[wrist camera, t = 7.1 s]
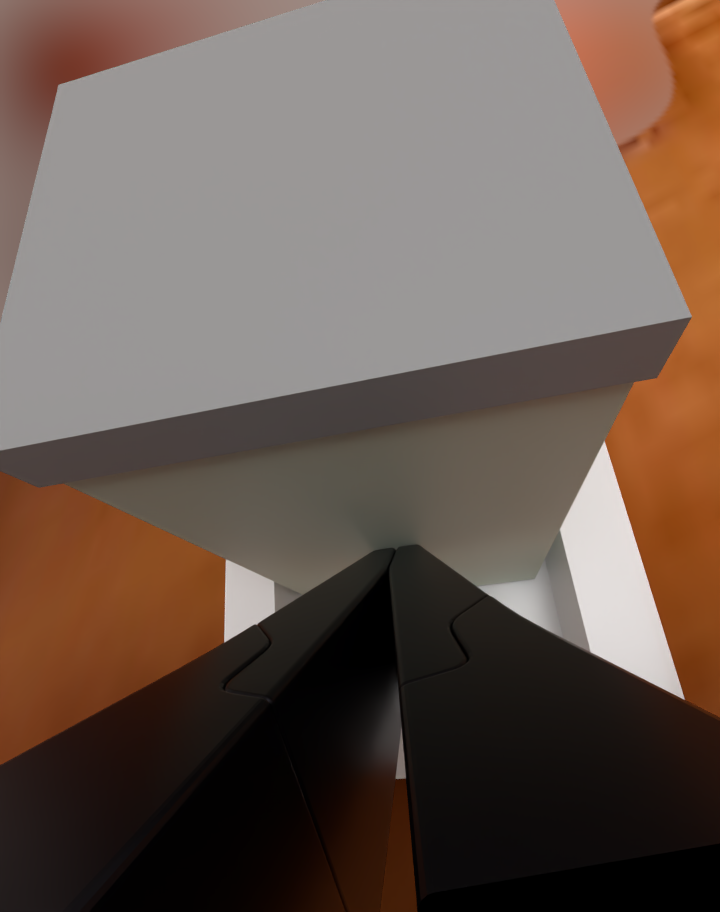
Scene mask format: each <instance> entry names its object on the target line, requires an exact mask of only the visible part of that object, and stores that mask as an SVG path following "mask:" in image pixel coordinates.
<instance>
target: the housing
mask: <svg viewBox="0 0 720 912" xmlns="http://www.w3.org/2000/svg"><path fill="white" fill-rule="evenodd" d="M477 587H478V588H480V589H481V590H483V591H484V592H485V593H487V594H488V595H489V596H492V597H494V598H495V599H496V600H498V601H499V602H501V603H502V604H504V605H505V606H507V607H508V608H510V609H511V610H513V611H514V612H516V613H517V614H519V615H521V616H522V617H524V618H526V619H528V620H530V621H531V622H533V623H535V624H537V625H539V626H541V627H542V628H544V629H546V630H548V631H550V632H552V633H554V634H556V635H558V636H560V637H562V638H564V639H566V640H568V641H570V642H572V643H574V644H576V645H578V646H580V647H582V648H584V649H585V650H587V651H589V652H591V653H593V654H595V655H597V656H599V657H601V658H603V659H605V660H607V661H609V662H611V663H613V664H615V665H617V666H619V667H621V668H623V669H625V670H627V671H629V672H631V673H633V674H635V675H637V676H639V677H641V678H643V679H645V680H647V681H649V682H651V683H652V684H654V685H656V686H658V687H660V688H662V689H664V690H666V691H668V692H670V693H672V694H674V695H676V696H678V697H680V698H682V699H684V695H683V692H682V689H681V686H680V682H679V679H678V676H677V673H676V670H675V666H674V663H673V660H672V657H671V653H670V650H669V647H668V644H667V641H666V637H665V634H664V631H663V628H662V625H661V621H660V618H659V615H658V612H657V608H656V605H655V602H654V599H653V596H652V592H651V589H650V586H649V583H648V579H647V576H646V573H645V570H644V567H643V563H642V560H641V557H640V554H639V551H638V547H637V544H636V541H635V538H634V534H633V531H632V528H631V525H630V522H629V518H628V515H627V512H626V509H625V505H624V502H623V499H622V496H621V493H620V489H619V486H618V483H617V480H616V477H615V473H614V470H613V467H612V464H611V460H610V457H609V454H608V451H607V448H606V444H605V441H604V443H603V445H602V447H601V449H600V451H599V453H598V455H597V457H596V459H595V461H594V463H593V464H592V466H591V468H590V470H589V472H588V474H587V476H586V478H585V480H584V482H583V484H582V486H581V488H580V490H579V492H578V494H577V496H576V498H575V500H574V502H573V504H572V506H571V508H570V510H569V512H568V514H567V516H566V518H565V520H564V522H563V524H562V526H561V528H560V530H559V532H558V534H557V536H556V538H555V540H554V542H553V544H552V546H551V548H550V550H549V552H548V554H547V556H546V558H545V560H544V562H543V564H542V566H541V568H540V570H539V571H538V573H537V575H536V577H535V579H529V580H521V581H513V582H505V583H497V584H488V585H480V586H477ZM300 596H302V594H300V593H298V592H295V591H293V590H291V589H289V588H287V587H285V586H283V585H280V584H278V583H276V582H274V581H272V580H270V579H267V578H265V577H263V576H261V575H259V574H257V573H255V572H252V571H250V570H248V569H246V568H244V567H242V566H240V565H237V564H235V563H233V562H231V561H229V560H227V559H226V582H225V632H224V642H226V641H228V640H229V639H231V638H233V637H234V636H236V635H238V634H239V633H241V632H243V631H244V630H246V629H247V628H249V627H251V626H252V625H254V624H256V625H257V624H258V623H259V622H260V621H262V620H263V619H265V618H267V617H268V616H270V615H271V614H273V613H275V612H276V611H278V610H279V609H281V608H283V607H284V606H286V605H287V604H289V603H291V602H292V601H294V600H295V599H297V598H299V597H300ZM684 700H685V699H684ZM404 778H406V773H405V761H404V750H403V738H402V728H401V736H400V745H399V753H398V762H397V770H396V779H404Z"/></svg>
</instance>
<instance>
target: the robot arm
mask: <svg viewBox="0 0 720 912" xmlns="http://www.w3.org/2000/svg"><path fill="white" fill-rule="evenodd" d="M401 728H402V738H403V750H404V761H405V773H406V784H407V795H408V807H409V818H410V830H411V841H412V852H413V864H414V875H415V887H416V898H417V910H418V912H720V718H719V717H718V716H716V715H714V714H712V713H710V712H708V711H706V710H704V709H702V708H700V707H698V706H696V705H694V704H692V703H690V702H688V701H686V700H684V699H682V698H680V697H678V696H676V695H674V694H672V693H670V692H668V691H666V690H664V689H662V688H660V687H658V686H656V685H654V684H652V683H651V682H649V681H647V680H645V679H643V678H641V677H639V676H637V675H635V674H633V673H631V672H629V671H627V670H625V669H623V668H621V667H619V666H617V665H615V664H613V663H611V662H609V661H607V660H605V659H603V658H601V657H599V656H597V655H595V654H593V653H591V652H589V651H587V650H585V649H584V648H582V647H580V646H578V645H576V644H574V643H572V642H570V641H568V640H566V639H564V638H562V637H560V636H558V635H556V634H554V633H552V632H550V631H548V630H546V629H544V628H542V627H541V626H539V625H537V624H535V623H533V622H531V621H530V620H528V619H526V618H524V617H522V616H521V615H519V614H517V613H516V612H514V611H513V610H511V609H510V608H508V607H507V606H505V605H504V604H502V603H501V602H499V601H498V600H496V599H495V598H494V597H492V596H489V595H488V594H487V593H485V592H484V591H483V590H481V589H480V588H478V587H477V586H476V585H474V584H473V583H471V582H470V581H469V580H467V579H466V578H465V577H463V576H462V575H460V574H459V573H458V572H456V571H455V570H453V569H452V568H451V567H449V566H448V565H446V564H445V563H444V562H442V561H441V560H440V559H438V558H437V557H435V556H434V555H433V554H431V553H430V552H428V551H427V550H426V549H424V548H423V547H421V546H420V545H417V544H416V545H408V546H400V547H398V548H397V550H396V549H394V548H386V549H380V550H374V551H372V552H371V553H369V554H367V555H366V556H364V557H363V558H361V559H359V560H358V561H356V562H355V563H353V564H351V565H350V566H348V567H347V568H345V569H343V570H342V571H340V572H339V573H337V574H335V575H334V576H332V577H331V578H329V579H327V580H326V581H324V582H323V583H321V584H319V585H318V586H316V587H315V588H313V589H311V590H310V591H308V592H307V593H305V594H303V595H302V596H300V597H299V598H297V599H295V600H294V601H292V602H291V603H289V604H287V605H286V606H284V607H283V608H281V609H279V610H278V611H276V612H275V613H273V614H271V615H270V616H268V617H267V618H265V619H263V620H262V621H260V622H259V623H258V624H257V625H256V624H254V625H252V626H251V627H249V628H247V629H246V630H244V631H243V632H241V633H239V634H238V635H236V636H234V637H233V638H231V639H229V640H228V641H226V642H224V643H223V644H221V645H219V646H218V647H216V648H214V649H213V650H211V651H209V652H207V653H206V654H204V655H202V656H200V657H198V658H197V659H195V660H193V661H191V662H189V663H188V664H186V665H184V666H182V667H181V668H179V669H177V670H175V671H173V672H171V673H170V674H168V675H166V676H164V677H162V678H160V679H158V680H157V681H155V682H153V683H151V684H149V685H147V686H146V687H144V688H142V689H140V690H138V691H136V692H134V693H133V694H131V695H129V696H127V697H125V698H123V699H122V700H120V701H118V702H116V703H114V704H112V705H110V706H109V707H107V708H105V709H103V710H101V711H99V712H98V713H96V714H94V715H92V716H90V717H88V718H87V719H85V720H83V721H81V722H79V723H77V724H75V725H74V726H72V727H70V728H68V729H66V730H64V731H63V732H61V733H59V734H57V735H55V736H53V737H51V738H50V739H48V740H46V741H44V742H42V743H40V744H39V745H37V746H35V747H33V748H31V749H29V750H27V751H26V752H24V753H22V754H20V755H18V756H16V757H15V758H13V759H11V760H9V761H7V762H5V763H4V764H2V765H0V912H380V906H381V897H382V889H383V880H384V872H385V863H386V855H387V846H388V838H389V829H390V821H391V813H392V804H393V796H394V787H395V779H396V770H397V762H398V753H399V745H400V736H401Z"/></svg>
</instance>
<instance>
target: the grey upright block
mask: <svg viewBox="0 0 720 912" xmlns="http://www.w3.org/2000/svg"><path fill="white" fill-rule="evenodd" d="M691 317H692V316H691V314H690V311H689V309H688V307H687V305H686V302H685V300H684V298H683V295H682V293H681V291H680V288H679V286H678V284H677V282H676V279H675V277H674V275H673V272H672V270H671V268H670V265H669V263H668V261H667V259H666V256H665V254H664V252H663V249H662V247H661V245H660V243H659V240H658V238H657V236H656V233H655V231H654V229H653V226H652V224H651V222H650V220H649V217H648V215H647V213H646V210H645V208H644V206H643V203H642V201H641V199H640V197H639V194H638V192H637V190H636V187H635V185H634V183H633V180H632V178H631V176H630V174H629V171H628V169H627V167H626V164H625V162H624V160H623V157H622V155H621V153H620V151H619V148H618V146H617V144H616V141H615V139H614V137H613V134H612V132H611V130H610V128H609V125H608V123H607V121H606V118H605V116H604V114H603V111H602V109H601V107H600V105H599V102H598V100H597V98H596V96H595V93H594V91H593V89H592V86H591V84H590V82H589V79H588V77H587V75H586V72H585V70H584V68H583V65H582V63H581V61H580V59H579V56H578V54H577V52H576V49H575V48H574V45H573V43H572V40H571V38H570V36H569V33H568V31H567V29H566V26H565V24H564V22H563V20H562V17H561V15H560V13H559V10H558V8H557V6H556V4H555V1H554V0H325V1H322V2H319V3H315V4H312V5H309V6H306V7H303V8H300V9H297V10H294V11H290V12H287V13H284V14H281V15H278V16H275V17H272V18H268V19H265V20H262V21H259V22H256V23H252V24H249V25H246V26H243V27H240V28H237V29H234V30H230V31H227V32H224V33H221V34H218V35H215V36H212V37H209V38H205V39H202V40H199V41H196V42H193V43H190V44H186V45H183V46H180V47H177V48H174V49H171V50H168V51H164V52H161V53H158V54H155V55H152V56H149V57H146V58H143V59H139V60H136V61H133V62H130V63H127V64H124V65H121V66H117V67H114V68H111V69H108V70H105V71H102V72H98V73H96V74H92V75H89V76H86V77H83V78H79V79H76V80H73V81H70V82H67V83H64V84H60V85H59V86H58V91H57V94H56V98H55V103H54V107H53V111H52V115H51V119H50V123H49V127H48V131H47V135H46V140H45V143H44V147H43V151H42V156H41V160H40V164H39V168H38V172H37V176H36V180H35V185H34V188H33V192H32V196H31V200H30V204H29V208H28V213H27V217H26V221H25V225H24V229H23V233H22V237H21V241H20V245H19V250H18V253H17V257H16V262H15V266H14V270H13V274H12V278H11V282H10V286H9V290H8V294H7V298H6V302H5V306H4V310H3V315H2V319H1V323H0V471H2V472H4V473H6V474H9V475H11V476H13V477H15V478H18V479H20V480H22V481H25V482H27V483H29V484H32V485H34V486H36V487H45V486H50V485H56V484H62V483H64V484H66V485H68V486H70V487H72V488H74V489H77V490H79V491H81V492H83V493H85V494H87V495H89V496H92V497H94V498H96V499H98V500H100V501H102V502H104V503H107V504H109V505H111V506H113V507H115V508H117V509H119V510H122V511H124V512H126V513H128V514H130V515H132V516H134V517H137V518H139V519H141V520H143V521H145V522H147V523H150V524H152V525H154V526H156V527H158V528H160V529H162V530H165V531H167V532H169V533H171V534H173V535H175V536H177V537H180V538H182V539H184V540H186V541H188V542H190V543H192V544H195V545H197V546H199V547H201V548H203V549H205V550H207V551H210V552H212V553H214V554H216V555H218V556H220V557H222V558H225V559H227V560H229V561H231V562H233V563H235V564H237V565H240V566H242V567H244V568H246V569H248V570H250V571H252V572H255V573H257V574H259V575H261V576H263V577H265V578H267V579H270V580H272V581H274V582H276V583H278V584H280V585H283V586H285V587H287V588H289V589H291V590H293V591H295V592H298V593H300V594H302V595H303V594H305V593H307V592H308V591H310V590H311V589H313V588H315V587H316V586H318V585H319V584H321V583H323V582H324V581H326V580H327V579H329V578H331V577H332V576H334V575H335V574H337V573H339V572H340V571H342V570H343V569H345V568H347V567H348V566H350V565H351V564H353V563H355V562H356V561H358V560H359V559H361V558H363V557H364V556H366V555H367V554H369V553H371V552H372V551H374V550H380V549H386V548H394V549H396V550H397V548H398V547H400V546H408V545H416V544H417V545H420V546H421V547H423V548H424V549H426V550H427V551H428V552H430V553H431V554H433V555H434V556H435V557H437V558H438V559H440V560H441V561H442V562H444V563H445V564H446V565H448V566H449V567H451V568H452V569H453V570H455V571H456V572H458V573H459V574H460V575H462V576H463V577H465V578H466V579H467V580H469V581H470V582H471V583H473V584H474V585H476V586H480V585H488V584H497V583H505V582H513V581H521V580H529V579H535V577H536V575H537V573H538V571H539V570H540V568H541V566H542V564H543V562H544V560H545V558H546V556H547V554H548V552H549V550H550V548H551V546H552V544H553V542H554V540H555V538H556V536H557V534H558V532H559V530H560V528H561V526H562V524H563V522H564V520H565V518H566V516H567V514H568V512H569V510H570V508H571V506H572V504H573V502H574V500H575V498H576V496H577V494H578V492H579V490H580V488H581V486H582V484H583V482H584V480H585V478H586V476H587V474H588V472H589V470H590V468H591V466H592V464H593V463H594V461H595V459H596V457H597V455H598V453H599V451H600V449H601V447H602V445H603V443H604V441H605V439H606V437H607V435H608V433H609V431H610V429H611V427H612V425H613V423H614V421H615V419H616V417H617V415H618V413H619V411H620V409H621V407H622V405H623V403H624V401H625V399H626V397H627V395H628V393H629V391H630V389H631V387H632V385H633V383H634V382H636V381H642V380H647V379H653V378H657V377H658V375H659V373H660V372H661V370H662V368H663V366H664V365H665V363H666V361H667V359H668V358H669V356H670V354H671V352H672V351H673V349H674V347H675V345H676V344H677V342H678V340H679V338H680V337H681V335H682V333H683V331H684V330H685V328H686V326H687V324H688V323H689V321H690V319H691Z"/></svg>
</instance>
